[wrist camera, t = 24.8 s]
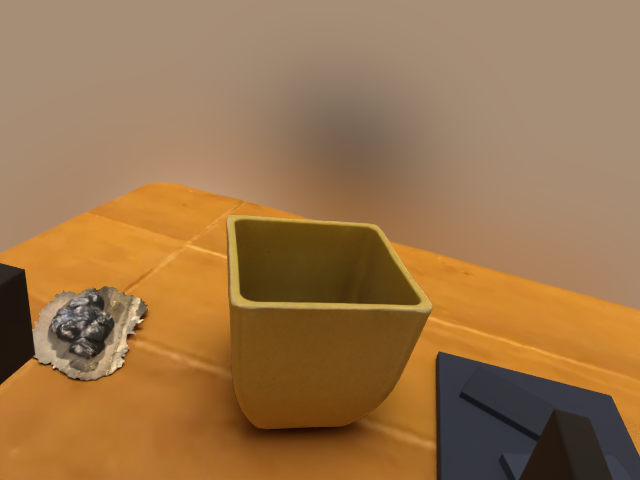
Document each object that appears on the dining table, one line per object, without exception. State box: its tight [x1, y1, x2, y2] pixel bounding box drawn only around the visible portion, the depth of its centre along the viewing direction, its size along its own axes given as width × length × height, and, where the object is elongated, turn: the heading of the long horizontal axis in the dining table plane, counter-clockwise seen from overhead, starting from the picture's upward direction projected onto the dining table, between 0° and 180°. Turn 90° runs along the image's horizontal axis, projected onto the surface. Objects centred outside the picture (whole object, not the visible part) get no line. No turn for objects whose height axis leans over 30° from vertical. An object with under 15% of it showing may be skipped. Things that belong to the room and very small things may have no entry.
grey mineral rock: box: [32, 286, 148, 381], centre depth 29 cm, size 7×8×2 cm
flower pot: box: [226, 215, 433, 429], centre depth 26 cm, size 9×9×9 cm
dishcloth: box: [436, 352, 640, 480], centre depth 26 cm, size 11×13×1 cm
